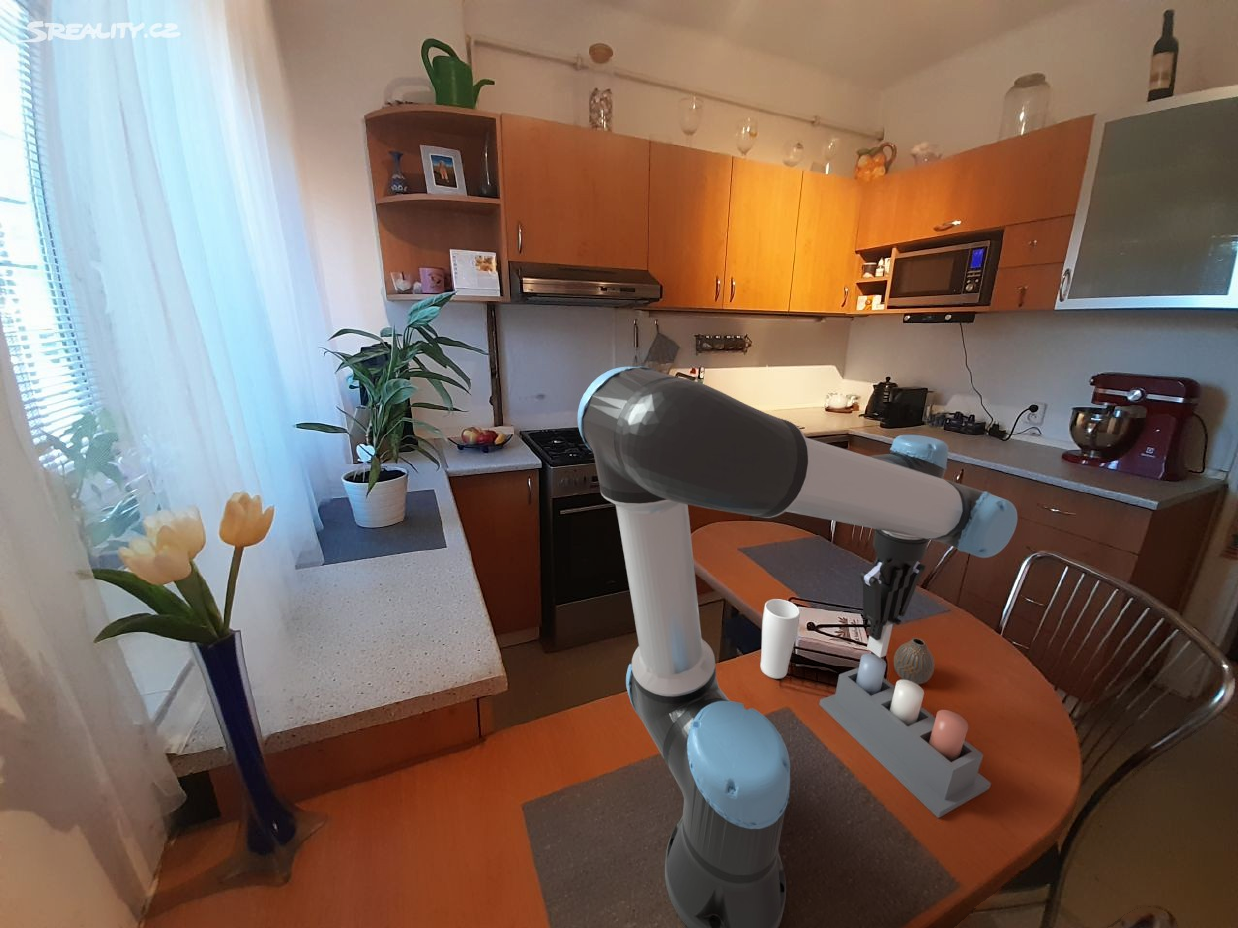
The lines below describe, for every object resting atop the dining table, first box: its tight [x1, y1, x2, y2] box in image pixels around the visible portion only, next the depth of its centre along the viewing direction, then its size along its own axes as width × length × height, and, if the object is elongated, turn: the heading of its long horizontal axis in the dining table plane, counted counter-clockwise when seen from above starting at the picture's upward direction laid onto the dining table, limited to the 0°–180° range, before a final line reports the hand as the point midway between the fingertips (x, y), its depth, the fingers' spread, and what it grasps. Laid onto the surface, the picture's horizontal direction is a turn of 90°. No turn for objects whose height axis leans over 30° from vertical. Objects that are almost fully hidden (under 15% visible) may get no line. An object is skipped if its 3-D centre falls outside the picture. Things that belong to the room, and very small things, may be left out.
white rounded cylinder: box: [890, 679, 925, 726], centre depth 80 cm, size 4×4×7 cm
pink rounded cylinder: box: [929, 709, 969, 762], centre depth 74 cm, size 4×4×7 cm
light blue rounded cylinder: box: [856, 653, 887, 696], centre depth 86 cm, size 4×4×7 cm
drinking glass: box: [759, 598, 801, 680], centre depth 96 cm, size 7×7×15 cm
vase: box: [893, 637, 935, 685], centre depth 96 cm, size 7×7×9 cm
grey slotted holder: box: [819, 667, 992, 819], centre depth 82 cm, size 12×23×7 cm, turn 23°
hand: (876, 651), depth 85 cm, fingers closed
